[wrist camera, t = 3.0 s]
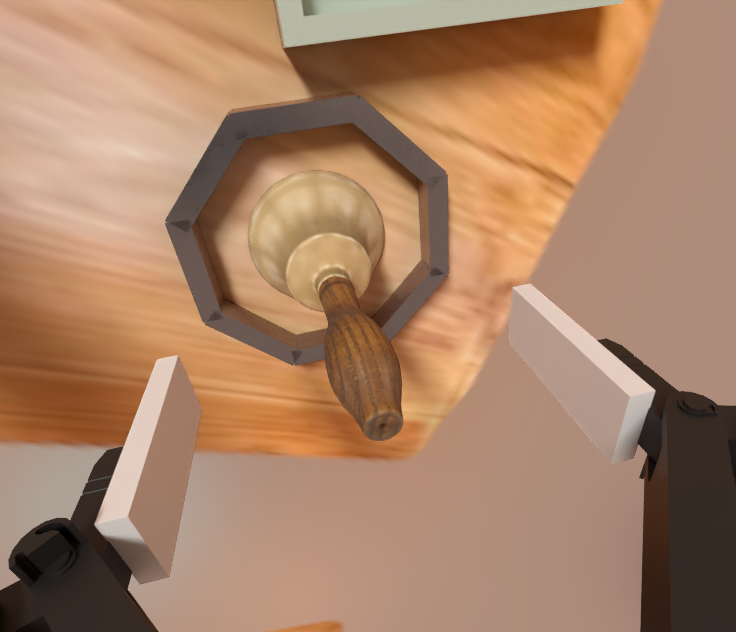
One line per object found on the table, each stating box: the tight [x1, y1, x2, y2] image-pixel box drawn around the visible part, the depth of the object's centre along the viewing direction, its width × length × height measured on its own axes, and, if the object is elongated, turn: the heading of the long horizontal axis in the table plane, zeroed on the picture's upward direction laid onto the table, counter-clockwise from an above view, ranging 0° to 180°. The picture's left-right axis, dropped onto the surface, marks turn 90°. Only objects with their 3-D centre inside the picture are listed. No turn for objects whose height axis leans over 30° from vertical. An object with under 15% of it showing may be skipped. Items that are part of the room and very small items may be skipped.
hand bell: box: [248, 170, 403, 441], centre depth 20 cm, size 8×8×16 cm
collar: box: [165, 92, 449, 366], centre depth 25 cm, size 15×15×2 cm
